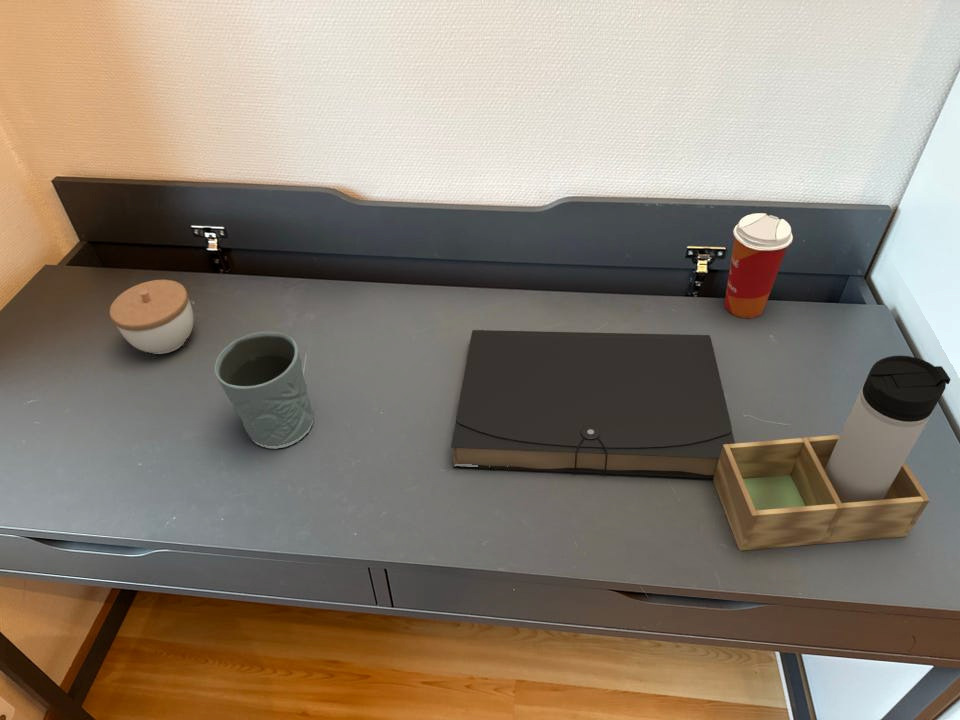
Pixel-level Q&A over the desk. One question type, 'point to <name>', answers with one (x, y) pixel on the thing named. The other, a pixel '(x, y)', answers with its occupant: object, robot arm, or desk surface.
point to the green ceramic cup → (266, 386)
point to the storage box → (805, 497)
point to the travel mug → (884, 426)
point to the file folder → (592, 404)
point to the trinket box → (154, 315)
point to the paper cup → (755, 262)
